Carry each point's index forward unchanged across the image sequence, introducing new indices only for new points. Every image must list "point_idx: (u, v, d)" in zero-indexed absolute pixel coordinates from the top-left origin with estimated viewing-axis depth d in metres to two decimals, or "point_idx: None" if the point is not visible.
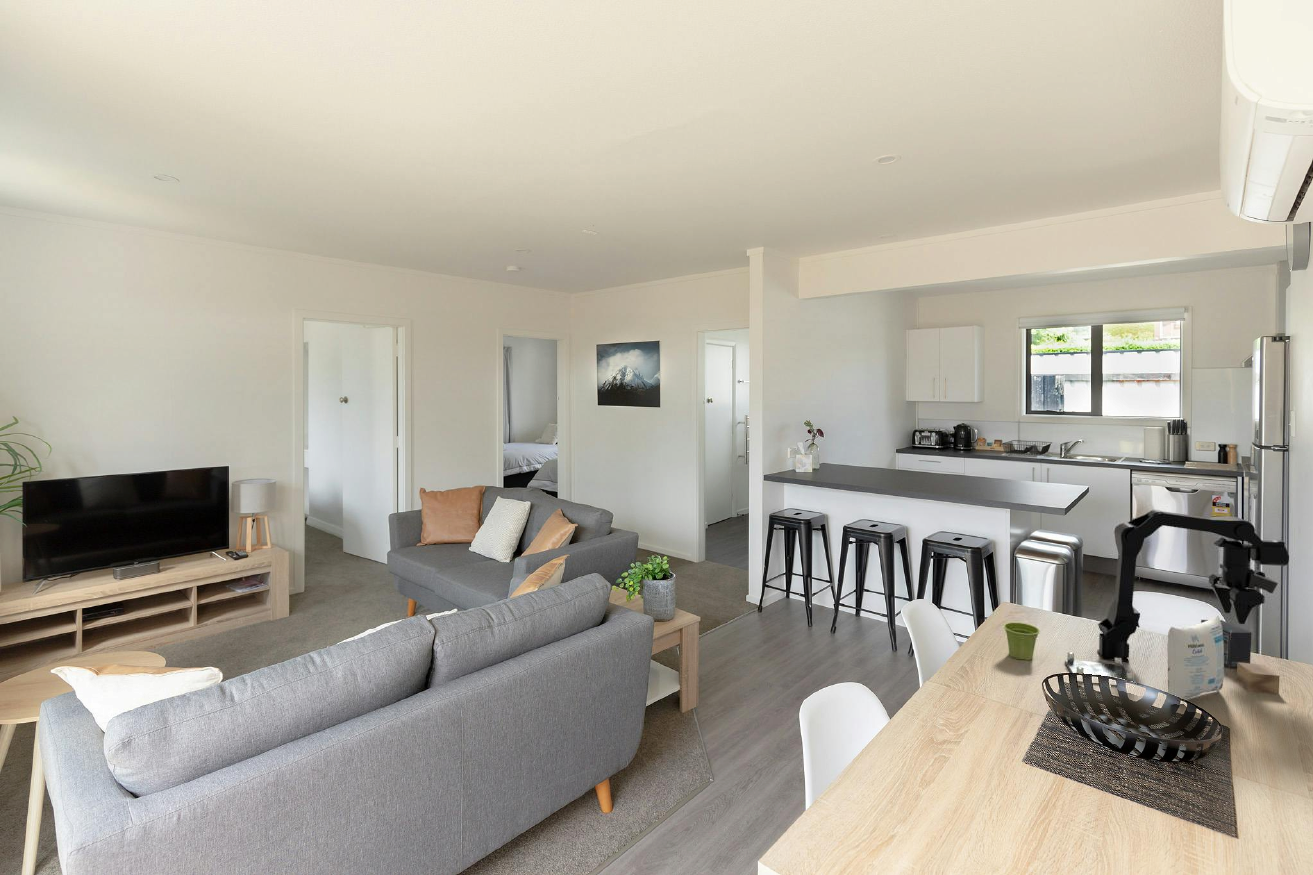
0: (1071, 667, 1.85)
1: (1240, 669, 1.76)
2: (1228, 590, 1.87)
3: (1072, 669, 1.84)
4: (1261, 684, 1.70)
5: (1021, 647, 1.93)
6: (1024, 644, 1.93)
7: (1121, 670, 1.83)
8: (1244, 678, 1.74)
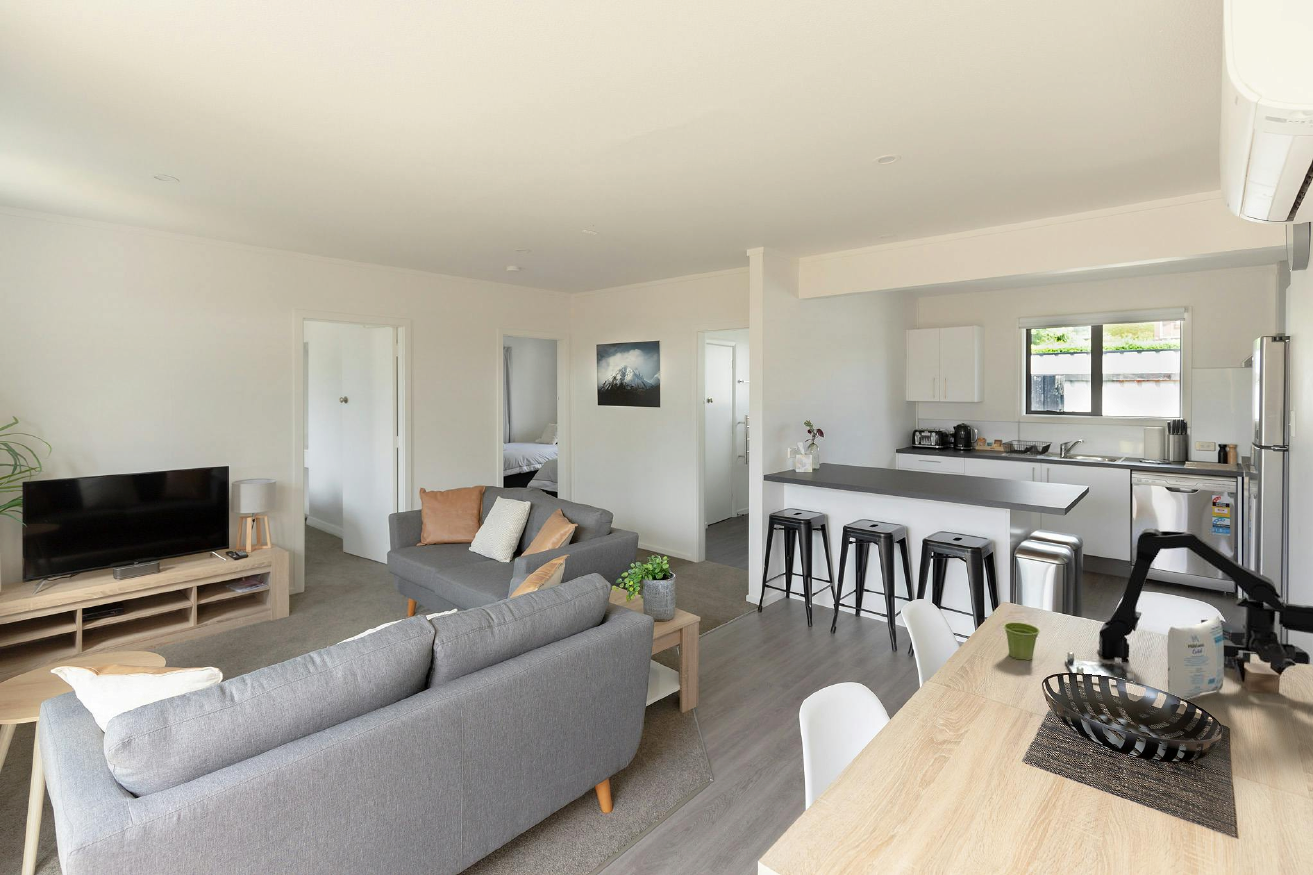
0: (1071, 667, 1.85)
1: None
2: None
3: (1072, 669, 1.84)
4: (1261, 683, 1.70)
5: (1021, 647, 1.93)
6: (1024, 644, 1.93)
7: (1121, 670, 1.83)
8: None
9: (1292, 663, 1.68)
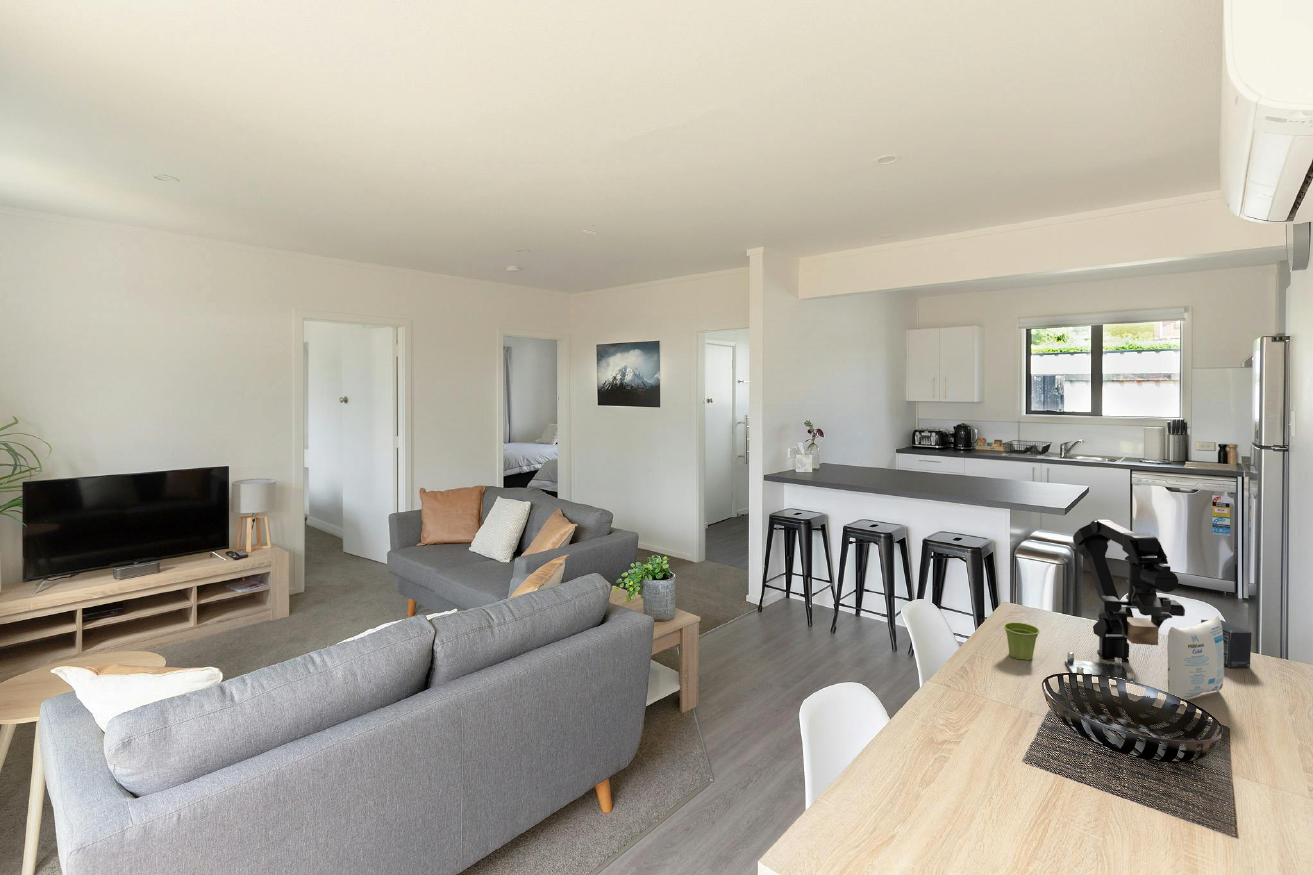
0: (1071, 667, 1.85)
1: None
2: None
3: (1072, 669, 1.84)
4: (1142, 636, 1.78)
5: (1021, 647, 1.93)
6: (1024, 644, 1.93)
7: (1121, 670, 1.83)
8: (1128, 631, 1.82)
9: (1169, 616, 1.77)
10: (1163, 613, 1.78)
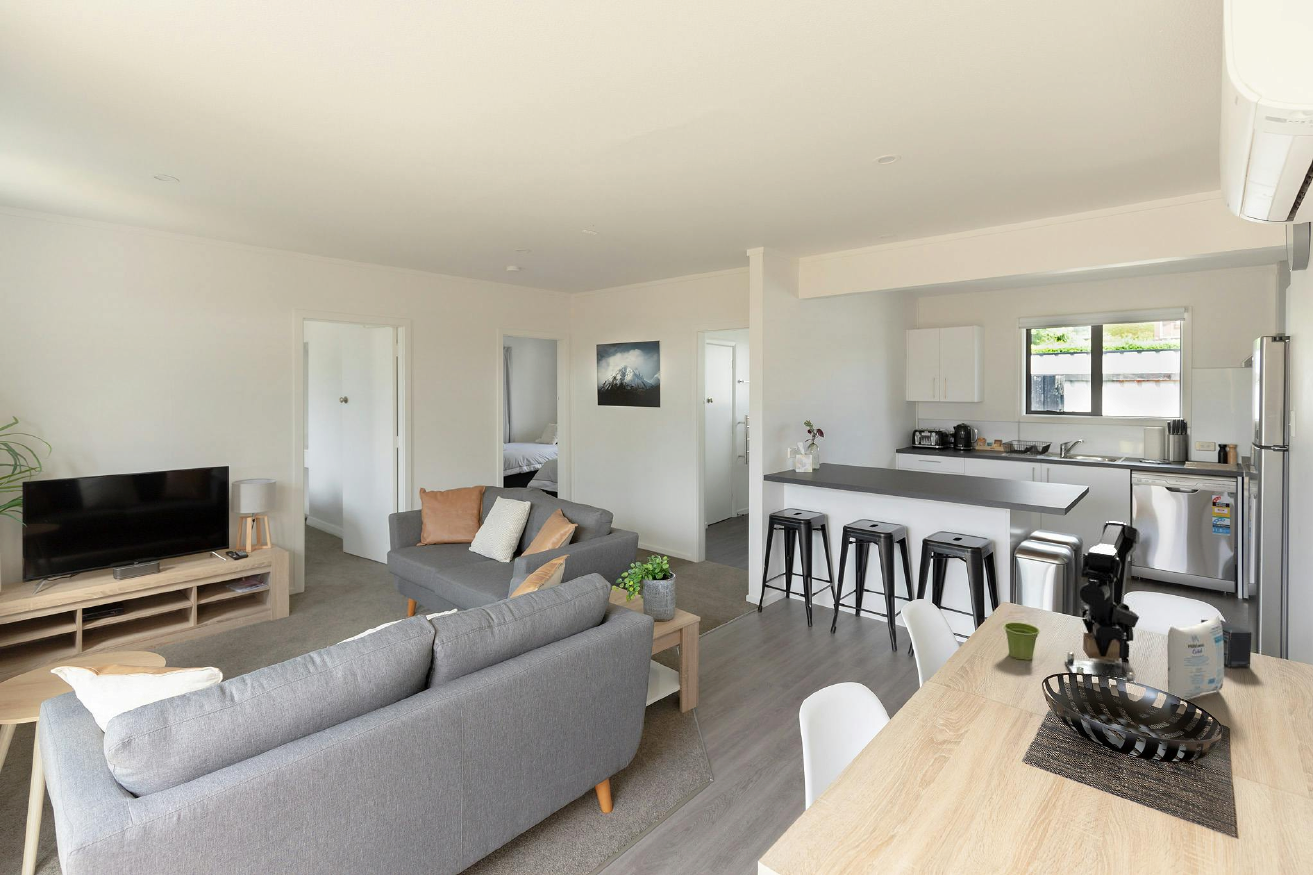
0: (1071, 667, 1.85)
1: (1096, 646, 1.80)
2: None
3: (1072, 669, 1.84)
4: None
5: (1021, 647, 1.93)
6: (1024, 644, 1.93)
7: (1121, 670, 1.83)
8: None
9: None
10: None
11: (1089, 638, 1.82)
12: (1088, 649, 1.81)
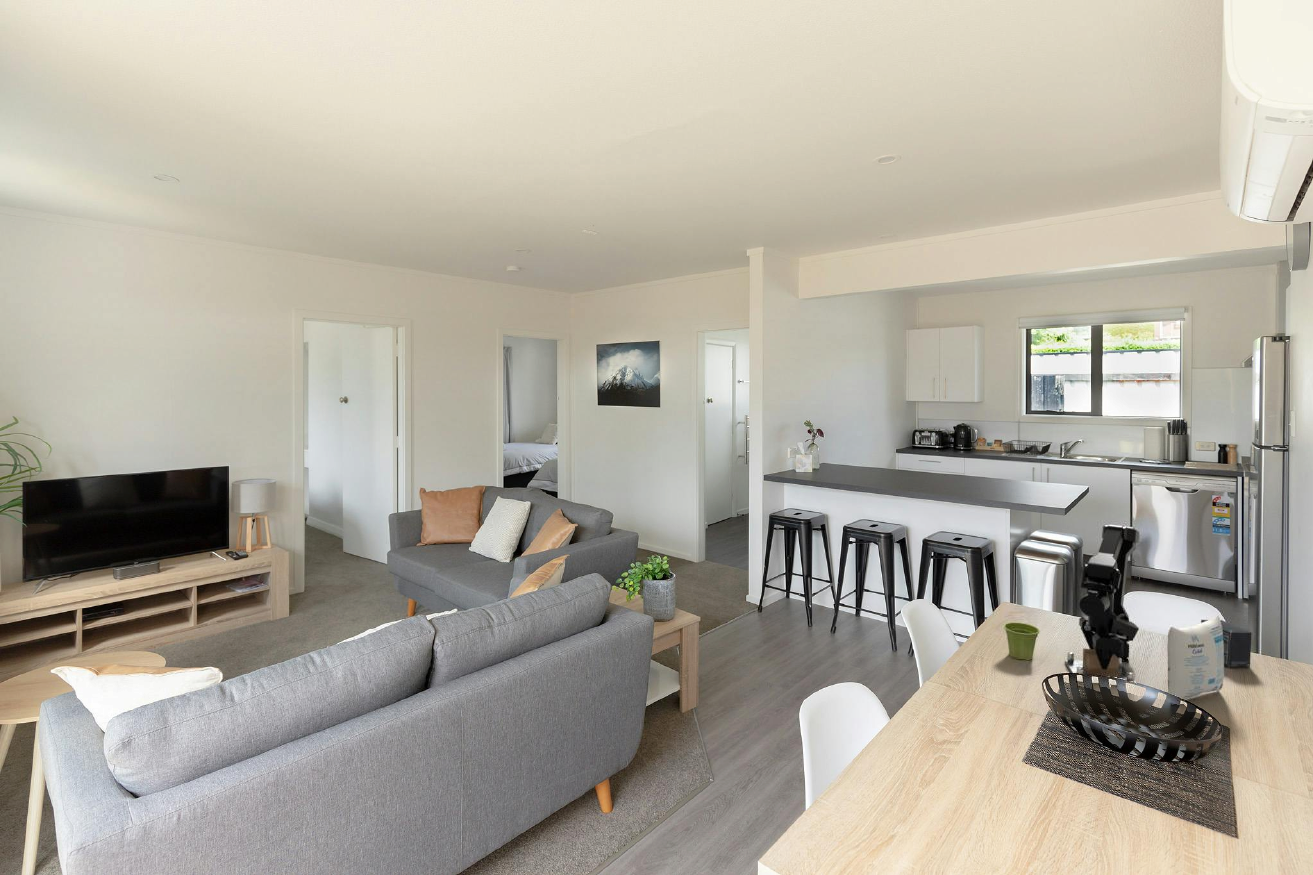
0: (1071, 667, 1.85)
1: (1096, 662, 1.80)
2: None
3: (1072, 669, 1.84)
4: None
5: (1021, 647, 1.93)
6: (1024, 644, 1.93)
7: (1121, 670, 1.83)
8: None
9: None
10: None
11: (1088, 654, 1.82)
12: (1087, 665, 1.81)
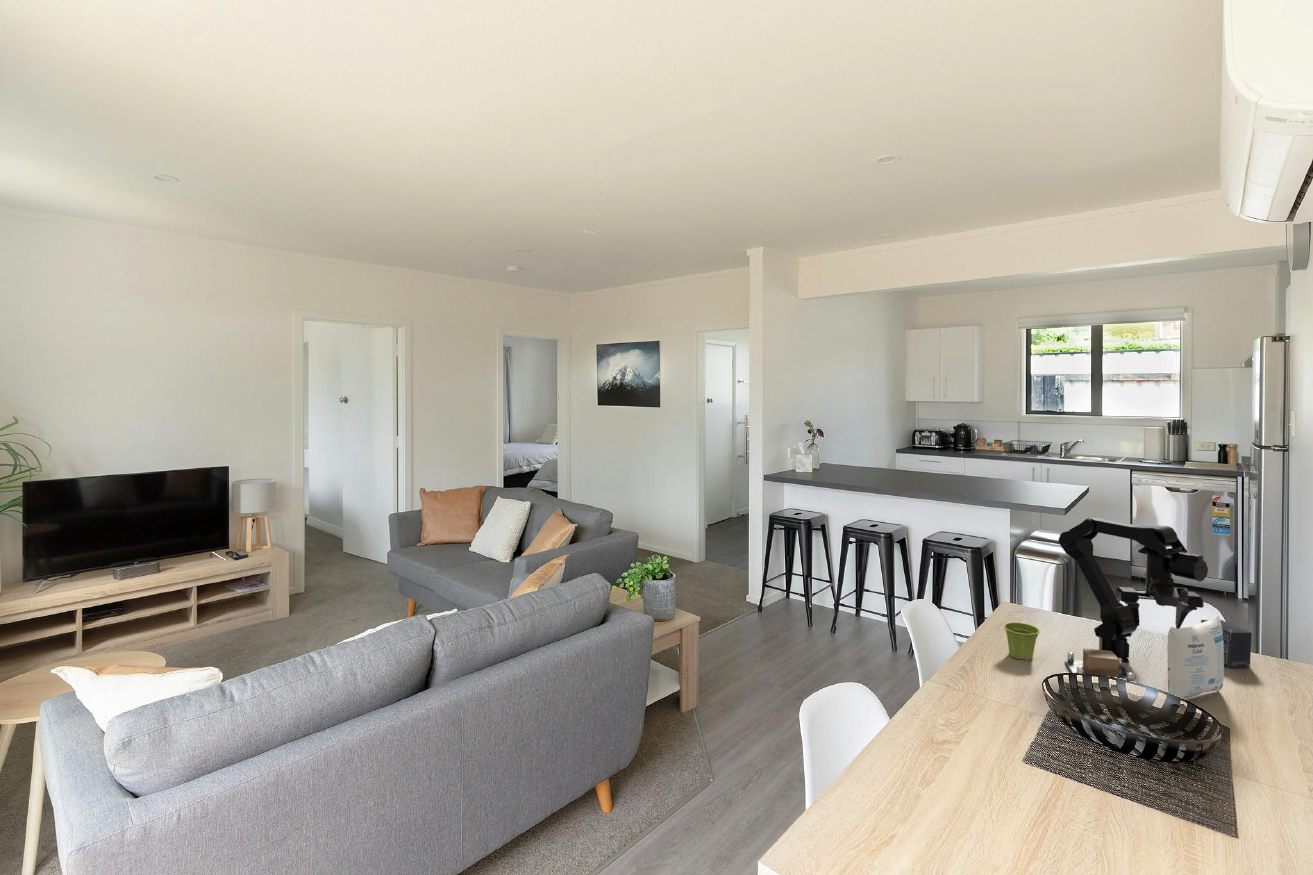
0: (1071, 667, 1.85)
1: (1096, 662, 1.80)
2: (1180, 606, 1.80)
3: (1072, 669, 1.84)
4: None
5: (1021, 647, 1.93)
6: (1024, 644, 1.93)
7: (1121, 670, 1.83)
8: (1106, 667, 1.79)
9: (1194, 607, 1.77)
10: (1188, 605, 1.78)
11: (1088, 654, 1.82)
12: (1087, 665, 1.81)
